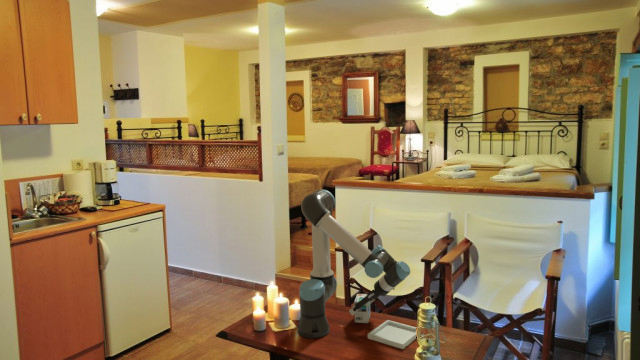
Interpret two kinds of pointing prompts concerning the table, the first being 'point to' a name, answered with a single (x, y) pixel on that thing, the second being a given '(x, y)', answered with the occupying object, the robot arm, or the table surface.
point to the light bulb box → (362, 310)
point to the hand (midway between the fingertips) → (358, 308)
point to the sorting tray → (393, 334)
